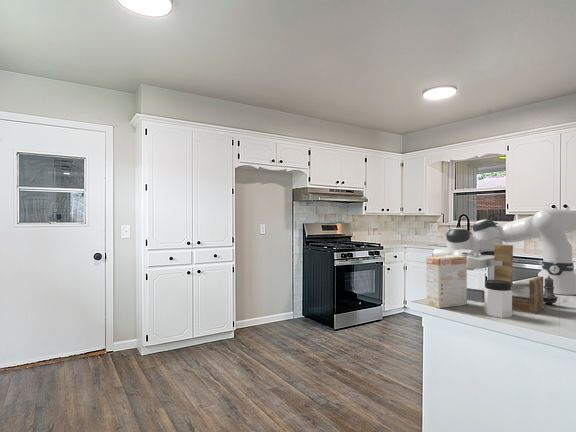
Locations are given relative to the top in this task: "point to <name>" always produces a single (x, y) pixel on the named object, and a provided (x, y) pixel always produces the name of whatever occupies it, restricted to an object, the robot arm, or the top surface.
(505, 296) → the jar
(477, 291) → the slate holder
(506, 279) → the wooden block
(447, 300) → the coffeecake box
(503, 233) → the robot arm
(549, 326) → the top surface
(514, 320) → the top surface
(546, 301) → the salt shaker
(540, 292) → the walnut rack
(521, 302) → the offcut boards
